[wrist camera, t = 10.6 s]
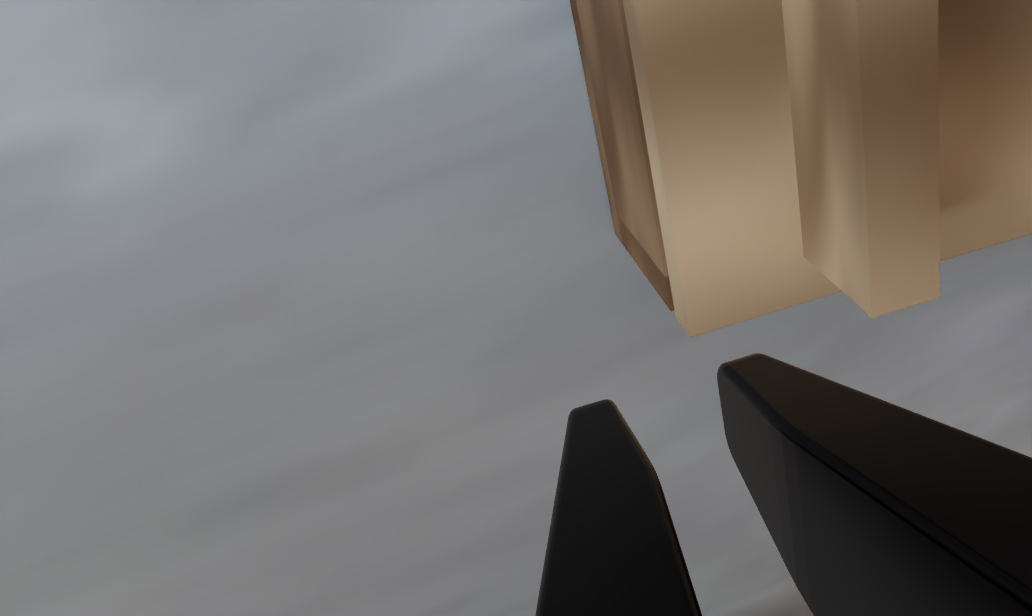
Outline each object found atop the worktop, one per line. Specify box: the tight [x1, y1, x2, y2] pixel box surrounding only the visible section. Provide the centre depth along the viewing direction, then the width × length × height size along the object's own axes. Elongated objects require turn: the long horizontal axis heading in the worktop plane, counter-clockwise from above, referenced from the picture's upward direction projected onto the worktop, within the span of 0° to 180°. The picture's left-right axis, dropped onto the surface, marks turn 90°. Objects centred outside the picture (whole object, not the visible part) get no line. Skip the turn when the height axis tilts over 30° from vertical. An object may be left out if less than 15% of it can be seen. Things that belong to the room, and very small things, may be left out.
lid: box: [623, 0, 1032, 337], centre depth 16 cm, size 9×12×3 cm
